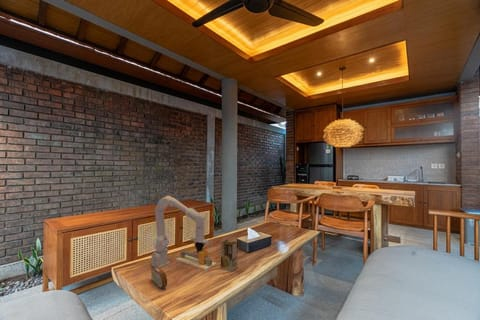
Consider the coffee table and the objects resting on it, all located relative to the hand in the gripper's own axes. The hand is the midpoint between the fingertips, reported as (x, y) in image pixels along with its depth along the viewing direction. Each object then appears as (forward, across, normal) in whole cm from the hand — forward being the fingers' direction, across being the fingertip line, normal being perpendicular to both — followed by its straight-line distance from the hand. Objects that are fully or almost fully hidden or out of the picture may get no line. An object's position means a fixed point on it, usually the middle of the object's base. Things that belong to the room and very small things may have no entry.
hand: (199, 253), depth 146 cm
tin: (+7, +1, +32) cm, 32 cm away
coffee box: (+7, -20, -6) cm, 22 cm away
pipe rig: (+6, +3, 0) cm, 7 cm away
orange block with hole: (+5, -3, 0) cm, 6 cm away
